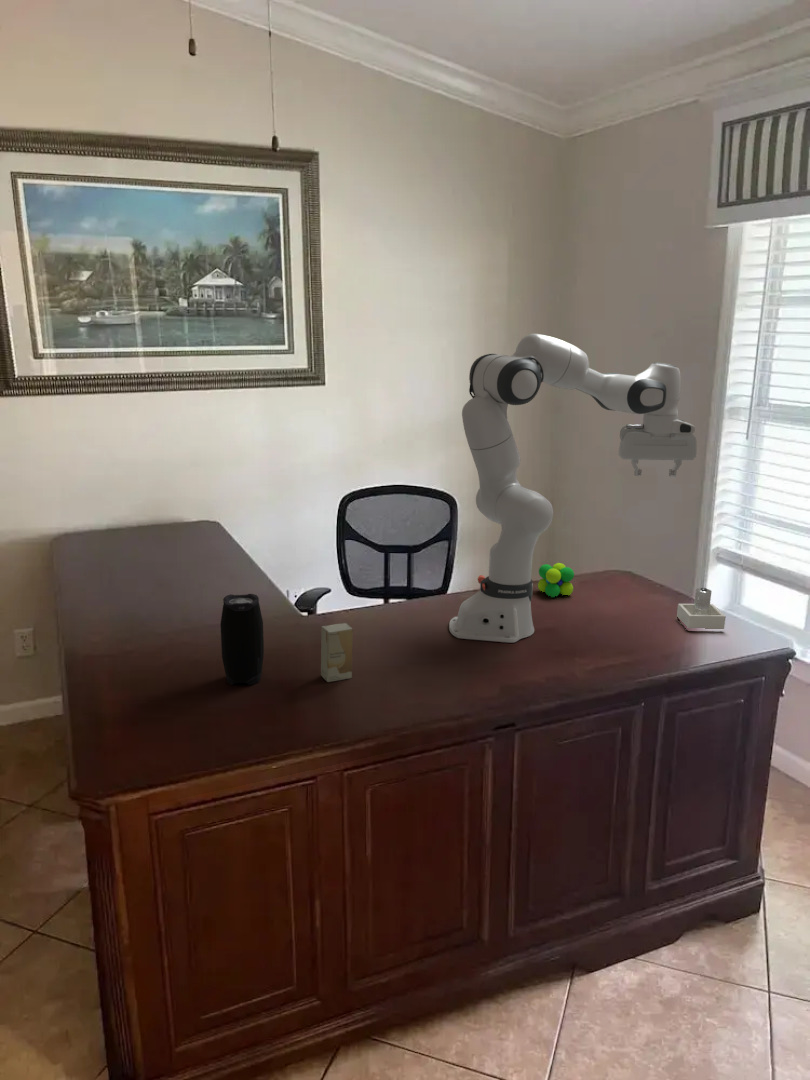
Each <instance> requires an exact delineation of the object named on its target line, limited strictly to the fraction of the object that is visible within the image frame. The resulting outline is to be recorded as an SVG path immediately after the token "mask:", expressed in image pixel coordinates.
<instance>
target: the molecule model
mask: <svg viewBox="0 0 810 1080" xmlns="http://www.w3.org/2000/svg"><path fill="white" fill-rule="evenodd" d="M538 575H539V576H540V577H541V579H540V580H538V583H537V588H538V590H539V591H540V592H541V591H542V592H541V593H543V592H545V593H544V594H545V595H546V596H547V595H548V597H549V596H551V597H550V598H556V597H558V596H559V595H561V594H562V595H561V596H563V595H568V596H570V595H572V594H573V591H574V586H573V583H571V581H572V580H573V579H574V577H575V572H574V570H573V569H572V568H570V567H569V566H566V565H565V564H564V563H561V562H556V563H555V564H553V565H552V566H551V565H550V564H548V563H547V564H546V563H544V564H542V565H540V567H538ZM555 596H556V597H555Z"/></svg>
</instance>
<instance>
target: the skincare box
mask: <svg viewBox="0 0 810 1080" xmlns="http://www.w3.org/2000/svg"><path fill="white" fill-rule="evenodd" d="M353 631H354V630H353V628H352V627H351V626H350V625H349V624H348V623H347V622H342V623H335V624H330V625H322V626H321V633H320V634H321V635H320V637H321V639H320V641H321V644H320V645H321V646H320V648H321V650H320V656H321V657H320V676H321V677H322V678H323V679H324V680H325V681H326V682H327V683H331V682H336V681H342V680H347V679H352V678H353V636H354V635H353Z"/></svg>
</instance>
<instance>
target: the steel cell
mask: <svg viewBox="0 0 810 1080" xmlns="http://www.w3.org/2000/svg"><path fill="white" fill-rule="evenodd" d="M711 600H712V590H711V589H709V588H706V587H698V588H696V589H695V595H694V602H693V604H694V610H693V615H709V609H710V604H711Z"/></svg>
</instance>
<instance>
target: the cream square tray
mask: <svg viewBox="0 0 810 1080" xmlns="http://www.w3.org/2000/svg"><path fill="white" fill-rule="evenodd" d="M693 610H694V603H678V604H677V612H676V618H677V617H678V618H679V619H680V620H681V621H682V622H683V623H684V624H685V625H686V626H687V628H705V629H724V630H725V625H726V615H725V614H724V613H723V612H722V611H721V610H720V609H718V608H717V606H716V605H714V603H710V609H709V615H693Z"/></svg>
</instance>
